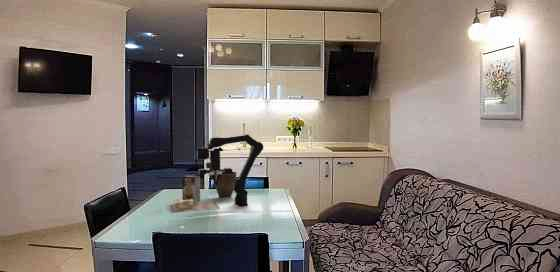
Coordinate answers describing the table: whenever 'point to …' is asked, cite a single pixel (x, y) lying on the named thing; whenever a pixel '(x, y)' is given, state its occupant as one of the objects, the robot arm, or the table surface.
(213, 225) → the table surface
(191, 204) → the t block
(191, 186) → the coffee box
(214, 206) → the board
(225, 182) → the plant pot
